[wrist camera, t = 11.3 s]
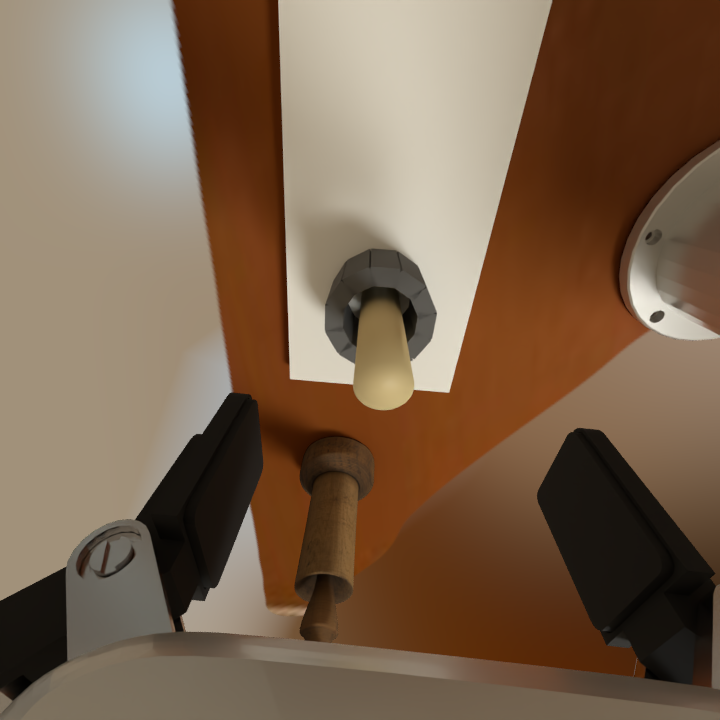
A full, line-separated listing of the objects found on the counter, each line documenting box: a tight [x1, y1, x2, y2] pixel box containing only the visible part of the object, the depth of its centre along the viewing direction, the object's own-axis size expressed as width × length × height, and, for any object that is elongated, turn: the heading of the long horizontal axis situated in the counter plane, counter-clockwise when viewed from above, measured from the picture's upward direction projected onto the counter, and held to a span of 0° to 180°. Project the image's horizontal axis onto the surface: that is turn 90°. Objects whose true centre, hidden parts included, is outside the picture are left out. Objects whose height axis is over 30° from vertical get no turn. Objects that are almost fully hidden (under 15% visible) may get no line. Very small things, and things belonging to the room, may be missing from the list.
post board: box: [278, 0, 552, 410], centre depth 16 cm, size 12×24×12 cm, turn 175°
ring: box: [325, 248, 437, 364], centre depth 20 cm, size 6×6×4 cm
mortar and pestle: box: [295, 437, 374, 643], centre depth 24 cm, size 7×6×18 cm
